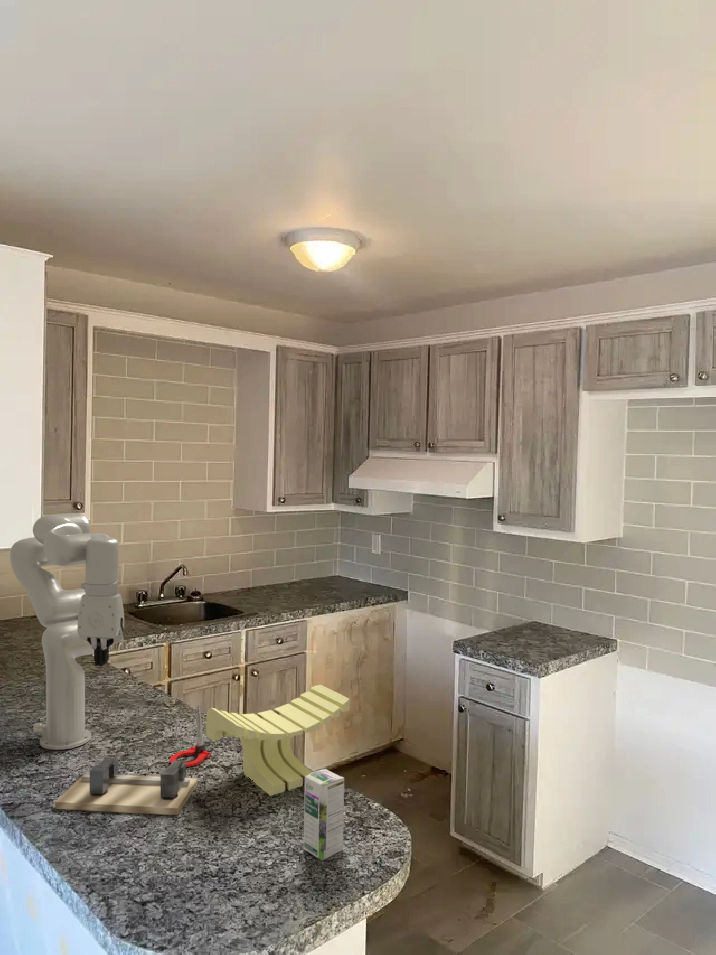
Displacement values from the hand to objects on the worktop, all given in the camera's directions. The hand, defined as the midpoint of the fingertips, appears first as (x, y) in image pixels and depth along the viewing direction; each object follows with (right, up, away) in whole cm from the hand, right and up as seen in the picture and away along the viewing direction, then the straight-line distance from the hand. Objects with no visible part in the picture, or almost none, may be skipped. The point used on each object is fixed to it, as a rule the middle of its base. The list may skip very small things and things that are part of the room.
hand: (101, 664), depth 173 cm
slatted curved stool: (+43, -26, -2) cm, 50 cm away
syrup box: (+55, -27, -34) cm, 71 cm away
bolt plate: (+11, -26, -13) cm, 31 cm away
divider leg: (+5, -24, -12) cm, 28 cm away
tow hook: (+20, -26, +6) cm, 33 cm away
